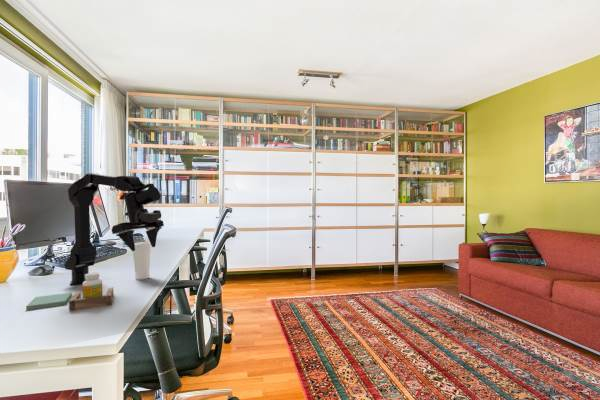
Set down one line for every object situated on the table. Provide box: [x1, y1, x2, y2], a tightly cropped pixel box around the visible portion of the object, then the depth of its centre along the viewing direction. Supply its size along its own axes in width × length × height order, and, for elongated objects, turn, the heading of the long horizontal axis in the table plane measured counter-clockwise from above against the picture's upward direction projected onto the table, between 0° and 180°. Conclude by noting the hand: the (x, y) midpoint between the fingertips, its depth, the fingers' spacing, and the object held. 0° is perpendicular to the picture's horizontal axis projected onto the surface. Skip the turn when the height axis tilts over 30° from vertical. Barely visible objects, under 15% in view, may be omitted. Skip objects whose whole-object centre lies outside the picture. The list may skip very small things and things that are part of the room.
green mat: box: [25, 292, 73, 311], centre depth 105 cm, size 10×10×1 cm
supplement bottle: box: [82, 272, 103, 298], centre depth 103 cm, size 5×5×10 cm
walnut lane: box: [68, 286, 115, 312], centre depth 104 cm, size 10×11×3 cm
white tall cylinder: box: [132, 241, 152, 281], centre depth 134 cm, size 7×7×15 cm
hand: (144, 248), depth 117 cm, fingers open, 9 cm apart
